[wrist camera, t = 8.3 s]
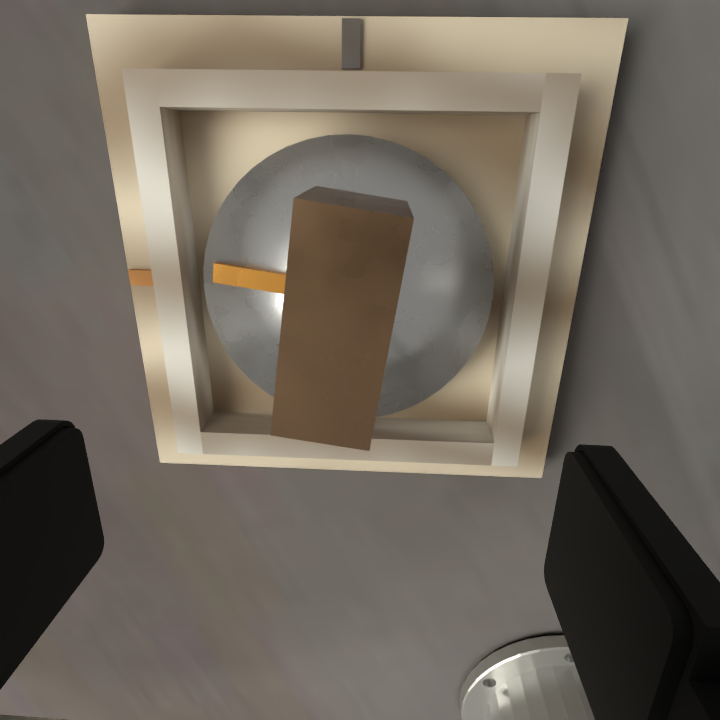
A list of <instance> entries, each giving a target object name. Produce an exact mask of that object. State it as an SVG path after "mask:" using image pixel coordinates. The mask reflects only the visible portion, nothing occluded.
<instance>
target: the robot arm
mask: <svg viewBox="0 0 720 720" xmlns="http://www.w3.org/2000/svg"><path fill="white" fill-rule="evenodd" d="M103 547H104V536H103V531H102V526H101V521H100V516H99V511H98V507H97V502H96V497H95V492H94V487H93V482H92V477H91V472H90V467H89V463H88V458H87V453H86V448H85V443H84V438H83V435H82V432H81V431H80V430H79V429H76V428H75V426H74V425H73V424H72V423H71V422H69V421H62V420H36V421H34V422H32V423H31V424H29V425H28V426H26V427H25V428H23V429H22V430H21V431H19V432H18V433H16V434H15V435H14V436H12V437H11V438H9V439H8V440H6V441H5V442H4V443H2V444H1V445H0V689H1V688H2V687H3V685H4V684H5V683H6V681H7V680H8V679H9V677H10V676H11V675H12V673H13V672H14V671H15V670H16V668H17V667H18V666H19V664H20V663H21V662H22V660H23V659H24V658H25V656H26V655H27V654H28V652H29V651H30V650H31V648H32V647H33V646H34V644H35V643H36V642H37V640H38V639H39V638H40V636H41V635H42V634H43V632H44V631H45V630H46V628H47V627H48V626H49V624H50V623H51V622H52V620H53V619H54V618H55V616H56V615H57V614H58V612H59V611H60V610H61V608H62V607H63V606H64V604H65V603H66V602H67V600H68V599H69V598H70V596H71V595H72V594H73V592H74V591H75V590H76V589H77V587H78V586H79V585H80V583H81V582H82V581H83V579H84V578H85V577H86V575H87V574H88V573H89V571H90V570H91V569H92V567H93V566H94V565H95V563H96V562H97V561H98V559H99V558H100V556H101V554H102V551H103ZM544 577H545V583H546V586H547V589H548V592H549V595H550V597H551V600H552V603H553V606H554V608H555V611H556V614H557V617H558V619H559V622H560V625H561V628H562V630H563V633H564V635H555V636H542V637H536V638H531V639H525V640H522V641H519V642H516V643H513V644H510V645H508V646H505V647H503V648H501V649H499V650H497V651H495V652H493V653H492V654H491V655H489V656H488V657H486V658H485V659H484V660H482V661H481V662H480V663H479V664H478V665H477V666H476V667H475V668H474V669H473V670H472V671H471V672H470V673H469V675H468V677H467V678H466V680H465V682H464V683H463V686H462V689H461V693H460V712H461V718H462V720H720V582H719V581H718V580H717V578H716V577H715V576H714V574H713V573H712V572H711V571H710V569H709V568H708V567H707V566H706V564H705V563H704V562H703V560H702V559H701V558H700V557H699V555H698V554H697V553H696V552H695V550H694V549H693V548H692V546H691V545H690V544H689V543H688V541H687V540H686V539H685V537H684V536H683V535H682V534H681V532H680V531H679V530H678V529H677V527H676V526H675V525H674V523H673V522H672V521H671V520H670V518H669V517H668V516H667V515H666V513H665V512H664V511H663V509H662V508H661V507H660V506H659V504H658V503H657V502H656V501H655V499H654V498H653V497H652V495H651V494H650V493H649V492H648V490H647V489H646V488H645V486H644V485H643V484H642V483H641V481H640V480H639V479H638V478H637V476H636V475H635V474H634V472H633V471H632V470H631V469H630V467H629V466H628V465H627V464H626V462H625V461H624V460H623V458H622V457H621V456H620V455H619V453H618V452H617V451H616V450H615V449H614V448H613V447H612V446H600V445H578V446H577V447H576V449H575V452H568V453H567V454H566V455H565V459H564V463H563V469H562V474H561V479H560V485H559V490H558V495H557V501H556V506H555V511H554V516H553V522H552V527H551V532H550V538H549V543H548V548H547V554H546V559H545V565H544ZM0 720H66V719H52V718H38V717H24V716H11V715H0Z"/></svg>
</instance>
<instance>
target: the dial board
mask: <svg viewBox="0 0 720 720" xmlns="http://www.w3.org/2000/svg"><path fill="white" fill-rule="evenodd" d="M86 18H87V24H88V30H89V36H90V42H91V48H92V54H93V61H94V67H95V73H96V79H97V85H98V91H99V97H100V103H101V109H102V115H103V121H104V127H105V133H106V139H107V145H108V151H109V157H110V163H111V169H112V175H113V181H114V187H115V193H116V199H117V205H118V211H119V217H120V224H121V230H122V236H123V242H124V248H125V254H126V260H127V266H128V272H129V278H130V284H131V290H132V296H133V302H134V308H135V314H136V320H137V326H138V332H139V338H140V344H141V350H142V356H143V362H144V368H145V374H146V380H147V387H148V393H149V399H150V405H151V411H152V417H153V423H154V429H155V435H156V441H157V447H158V453H159V459H160V462H161V463H185V464H210V465H235V466H259V467H284V468H308V469H333V470H358V471H382V472H407V473H431V474H456V475H481V476H505V477H530V478H542V474H543V469H544V464H545V458H546V453H547V448H548V443H549V437H550V432H551V427H552V421H553V416H554V411H555V405H556V400H557V395H558V389H559V384H560V379H561V374H562V368H563V363H564V358H565V352H566V347H567V342H568V336H569V331H570V326H571V320H572V315H573V310H574V304H575V299H576V294H577V289H578V283H579V278H580V273H581V267H582V262H583V257H584V251H585V246H586V241H587V235H588V230H589V225H590V220H591V214H592V209H593V204H594V198H595V193H596V188H597V182H598V177H599V172H600V166H601V161H602V156H603V151H604V145H605V140H606V135H607V129H608V124H609V119H610V113H611V108H612V103H613V97H614V92H615V87H616V81H617V76H618V71H619V66H620V60H621V55H622V50H623V44H624V39H625V34H626V28H627V23H628V18H527V17H387V16H248V15H108V14H86ZM344 134H352V135H362V136H371V137H375V138H379V139H384V140H388V141H391V142H394V143H396V144H399V145H401V146H404V147H406V148H409V149H411V150H413V151H415V152H416V153H418V154H420V155H422V156H423V157H425V158H427V159H429V160H430V161H431V162H433V163H434V164H435V165H436V166H438V167H439V168H440V169H442V170H443V171H444V172H445V173H446V174H447V175H448V176H449V177H450V178H451V179H452V180H453V181H454V182H455V183H456V184H457V185H458V186H459V187H460V188H461V190H462V191H463V192H464V194H465V195H466V196H467V198H468V199H469V201H470V202H471V203H472V205H473V207H474V209H475V211H476V212H477V214H478V216H479V218H480V220H481V222H482V224H483V227H484V230H485V233H486V235H487V238H488V241H489V246H490V250H491V255H492V260H493V272H494V288H493V300H492V305H491V310H490V315H489V318H488V321H487V324H486V327H485V330H484V333H483V335H482V337H481V339H480V341H479V343H478V345H477V347H476V349H475V351H474V352H473V354H472V355H471V357H470V358H469V360H468V361H467V363H466V364H465V365H464V366H463V368H462V369H461V370H460V371H459V372H458V373H457V374H456V376H455V377H454V378H453V379H452V380H450V381H449V382H448V383H447V384H446V385H445V386H444V387H443V388H441V389H440V390H439V391H437V392H436V393H434V394H433V395H432V396H430V397H429V398H427V399H425V400H423V401H422V402H420V403H418V404H416V405H414V406H412V407H410V408H407V409H404V410H402V411H399V412H396V413H393V414H389V415H385V416H381V417H376V419H375V424H374V430H373V435H372V440H371V445H370V450H369V451H365V450H359V449H353V448H346V447H340V446H334V445H327V444H321V443H315V442H308V441H302V440H296V439H289V438H283V437H277V436H271V435H270V432H271V422H272V412H273V402H274V397H273V396H271V395H269V394H268V393H266V392H265V391H263V390H262V389H261V388H260V387H258V386H257V385H256V384H255V383H253V382H252V381H251V380H250V379H249V378H248V377H247V376H246V375H245V374H244V373H243V372H242V371H241V370H240V369H239V367H238V366H237V365H236V364H235V362H234V361H233V360H232V358H231V357H230V356H229V355H228V353H227V351H226V350H225V348H224V346H223V345H222V343H221V341H220V340H219V337H218V335H217V333H216V331H215V328H214V326H213V324H212V321H211V318H210V314H209V311H208V308H207V303H206V297H205V291H204V274H203V268H204V258H205V249H206V245H207V241H208V237H209V233H210V230H211V227H212V225H213V222H214V220H215V217H216V215H217V213H218V211H219V209H220V207H221V206H222V204H223V202H224V200H225V199H226V197H227V196H228V194H229V193H230V192H231V190H232V189H233V188H234V187H235V185H236V184H237V183H238V181H239V180H241V179H242V178H243V177H244V176H245V175H246V174H247V173H248V172H249V171H250V170H251V169H252V168H253V167H254V166H256V165H257V164H258V163H260V162H261V161H263V160H264V159H265V158H267V157H268V156H270V155H272V154H273V153H275V152H277V151H279V150H281V149H283V148H285V147H287V146H289V145H292V144H295V143H298V142H301V141H304V140H307V139H311V138H316V137H321V136H327V135H344Z"/></svg>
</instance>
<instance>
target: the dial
mask: <svg viewBox="0 0 720 720" xmlns="http://www.w3.org/2000/svg"><path fill="white" fill-rule="evenodd" d="M203 274H204V291H205V297H206V303H207V308H208V311H209V314H210V318H211V321H212V324H213V326H214V328H215V331H216V333H217V335H218V337H219V340H220V341H221V343H222V345H223V346H224V348H225V350H226V351H227V353H228V355H229V356H230V357H231V358H232V360H233V361H234V362H235V364H236V365H237V366H238V367H239V369H240V370H241V371H242V372H243V373H244V374H245V375H246V376H247V377H248V378H249V379H250V380H251V381H252V382H253V383H255V384H256V385H257V386H258V387H260V388H261V389H262V390H263V391H265V392H266V393H268V394H269V395H271V396H273V397H274V402H273V412H272V422H271V432H270V435H271V436H277V437H283V438H289V439H296V440H302V441H308V442H315V443H321V444H327V445H334V446H340V447H346V448H353V449H359V450H365V451H369V450H370V445H371V440H372V435H373V430H374V424H375V419H376V417H381V416H385V415H389V414H393V413H396V412H399V411H402V410H404V409H407V408H410V407H412V406H414V405H416V404H418V403H420V402H422V401H423V400H425V399H427V398H429V397H430V396H432V395H433V394H434V393H436V392H437V391H439V390H440V389H441V388H443V387H444V386H445V385H446V384H447V383H448V382H449V381H450V380H452V379H453V378H454V377H455V376H456V374H457V373H458V372H459V371H460V370H461V369H462V368H463V366H464V365H465V364H466V363H467V361H468V360H469V358H470V357H471V355H472V354H473V352H474V351H475V349H476V347H477V345H478V343H479V341H480V339H481V337H482V335H483V333H484V330H485V327H486V324H487V321H488V318H489V315H490V310H491V305H492V300H493V288H494V272H493V260H492V255H491V250H490V246H489V241H488V238H487V235H486V233H485V230H484V227H483V224H482V222H481V220H480V218H479V216H478V214H477V212H476V211H475V209H474V207H473V205H472V203H471V202H470V201H469V199H468V198H467V196H466V195H465V194H464V192H463V191H462V190H461V188H460V187H459V186H458V185H457V184H456V183H455V182H454V181H453V180H452V179H451V178H450V177H449V176H448V175H447V174H446V173H445V172H444V171H443V170H442V169H440V168H439V167H438V166H436V165H435V164H434V163H433V162H431V161H430V160H429V159H427V158H425V157H423V156H422V155H420V154H418V153H416V152H415V151H413V150H411V149H409V148H406V147H404V146H401V145H399V144H396V143H394V142H391V141H388V140H384V139H379V138H375V137H371V136H362V135H352V134H344V135H327V136H321V137H316V138H311V139H307V140H304V141H301V142H298V143H295V144H292V145H289V146H287V147H285V148H283V149H281V150H279V151H277V152H275V153H273V154H272V155H270V156H268V157H267V158H265V159H264V160H263V161H261V162H260V163H258V164H257V165H256V166H254V167H253V168H252V169H251V170H250V171H249V172H248V173H247V174H246V175H245V176H244V177H243V178H242V179H241V180H239V181H238V183H237V184H236V185H235V187H234V188H233V189H232V190H231V192H230V193H229V194H228V196H227V197H226V199H225V200H224V202H223V204H222V206H221V207H220V209H219V211H218V213H217V215H216V217H215V220H214V222H213V225H212V227H211V230H210V233H209V237H208V241H207V245H206V249H205V258H204V268H203Z"/></svg>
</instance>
